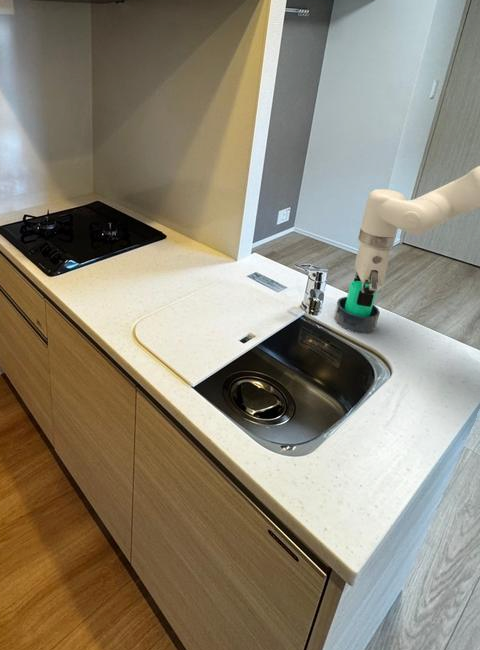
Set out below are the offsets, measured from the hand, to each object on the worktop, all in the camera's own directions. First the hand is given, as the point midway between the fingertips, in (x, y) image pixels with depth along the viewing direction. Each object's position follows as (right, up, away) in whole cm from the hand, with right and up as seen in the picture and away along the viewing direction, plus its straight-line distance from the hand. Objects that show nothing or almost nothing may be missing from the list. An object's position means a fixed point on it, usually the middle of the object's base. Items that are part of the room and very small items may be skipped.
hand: (360, 297), depth 111 cm
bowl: (0, -7, +3) cm, 8 cm away
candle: (0, -7, +3) cm, 7 cm away
